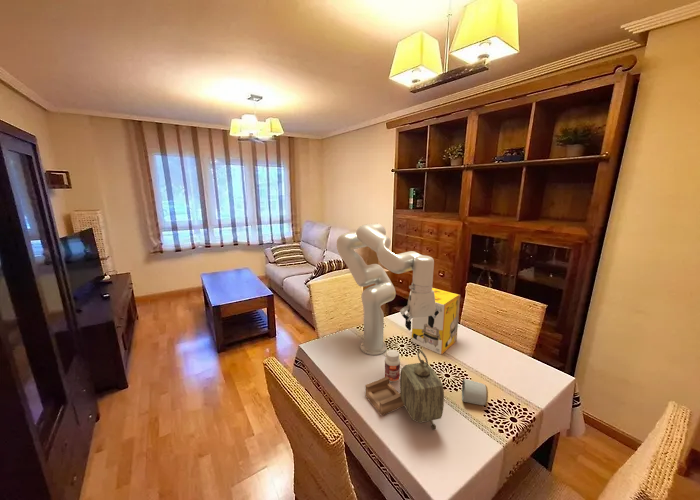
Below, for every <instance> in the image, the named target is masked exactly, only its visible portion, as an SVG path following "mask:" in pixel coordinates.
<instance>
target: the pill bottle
mask: <svg viewBox="0 0 700 500" xmlns="http://www.w3.org/2000/svg"><path fill="white" fill-rule="evenodd" d="M385 352H386V356H385V359H384V378H385V377H388V378H389V379H390V381H389V383H395V382H398V381H400V374H401V360H400V359H401V358H400V352H399V351H398V350H396V349H389V350H386V351H385Z"/></svg>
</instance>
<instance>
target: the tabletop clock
mask: <svg viewBox="0 0 700 500" xmlns="http://www.w3.org/2000/svg"><path fill="white" fill-rule="evenodd" d="M416 353H417V358H418V360H419V362H416V363H409V364H405V365H404V366H403V367H402V368H400V377H399V393H400V395H401V399H402V401H403V403H404V405H405V406H404V407H405V409H406V411H407V412H408V415H409V416H410V418H411V420H413V421H415V422H417V423H419V424H421V423H424V422H429V423H430V425H431V426H430V427H431V429H432V430H433V431H435V430H436V429H437V425H436V424H434V423H433V421H437V420H440V419H442V418H443V417H442V416H443V412H444V404H445V402H444V401H445V392H444V385H443V383H442V380H441V379H440V378H439V376H438V374H437V373H436V372H435V370H434V369H433V368H432V367H431V366H430V364H429V361H428V358H427V355H426V354H425V353H424V351H422V349H418V350H417V352H416ZM420 354H421V355H422V356H423V358H424V359H425V360H424V359H421V357H420Z"/></svg>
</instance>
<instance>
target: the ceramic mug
mask: <svg viewBox="0 0 700 500" xmlns="http://www.w3.org/2000/svg"><path fill="white" fill-rule="evenodd" d="M461 400H462V402H463V403H464V402H465V403H468V404H473V405H478V406H486V405H488V401H489V389H488V386H487V385H486V384H484V383H482V382H478V381H474V380H471V379H466V378H463V380H462V384H461Z"/></svg>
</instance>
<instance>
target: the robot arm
mask: <svg viewBox="0 0 700 500" xmlns="http://www.w3.org/2000/svg"><path fill="white" fill-rule="evenodd" d="M386 232H387V231H386V228H385V226H383V225H382V224H381V223H378V222H375V223H369V224H368V223H367V224H362V225H361V226H358V228H357V230H356V231H350V232H346V233H343V234H341V235H339V236H338V238H337V240H336V249H337V253H338V255H339V256H340V258H341V260H342V261H344V262H343V263H345V265H346V267H347V268H348V270H349V272H350V274H351V276H352V277H353V279H354V282H355V283H356V285H358V286H359V287H360V288H361V287H362V288H363V287H366V288H365V289H364V290H363V291H362V293H361V303H362V308H363V334H361V338H363V340H362V342H361V344H360V350H361V351H362V352H363V353H365V354H367V355H370V356H371V355H372V356H378V355H383V354H384V353H385V352H387V344H386V343H385V342H384V331H385V328H384V327H385V326H384V325H385V324H384V322H385V321H384V320H385V319H384V318H385V317H384V316H385V314H384V311H383V309H382V308H381V306H382V305H385V304H386V303H389V302H392V301H393V300H394V299H395V298H396V295H397V292H396V288H395V286H394V284H393V283H392V281H391V279H390V277H389V276H388V274H387V272H386V271H385V269H387V270H388V271H390V272H391V273H394V274H398V275H400V274H403V273H407V272H410V271H412V281H411V285H409V286H408V289H410V291H409V293H408V295H409V296H408V300H407V305H406V306H404V307H402V308H401V309H399V313H400V314H401V316H402V317H403V318H404V319H405V322H404V323H405V324H404V325H405V328H406V329H407V330H408V331H412V321H411V320H412V319H413V317H414V318H417V317H426V316H428V325H429V326H430V327H431V328H433V324H434V318H436V316H437V315H438V313H439V311H440V309H441V306H439V305H437V304H435V295H434V291H433V290H432V288H433V282H434V268H435V267H434V266H435V260H434V258H433V257H432V256H429V255H424V254H421V253H418V252H417V251H414V250H413V251H412V250H410V251H406V252H401V253H397V254H395V252H392V251H391V250H389V249H390V246H391V244H392V243H391V238H390V237H389V236H388V235H386V234H387V233H386ZM366 247H368V248H370V249H371V250H372V251H374V252H375V253H376V257H377V259H378V261H379V263H380V264H381V265H382V266H383V267H382V266H381V265H380V264H378V263H372V264H367V263H366V262H365V260H364V258H363V257H362V256H361V254H359V253H358V252H357V251H356V249H361V248H366ZM384 268H385V269H384ZM367 286H369V287H367ZM435 308H436V310H435ZM406 312H407V313H406Z"/></svg>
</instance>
